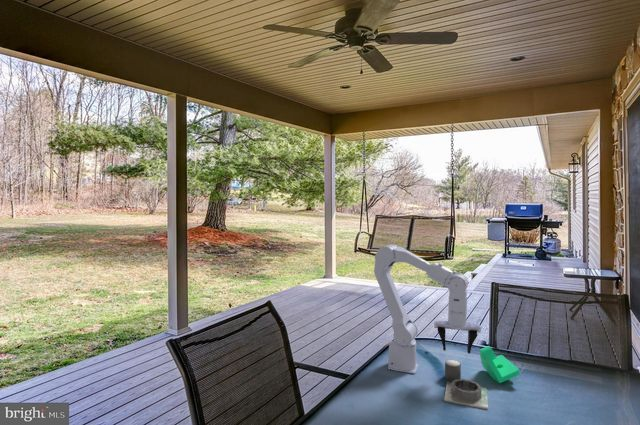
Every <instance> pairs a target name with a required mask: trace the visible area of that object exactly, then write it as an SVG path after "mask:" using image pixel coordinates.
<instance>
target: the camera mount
mask: <svg viewBox="0 0 640 425" xmlns="http://www.w3.org/2000/svg"><path fill="white" fill-rule="evenodd" d="M478 351H479V355H480V361H481V365H482V367H483V368H484V370H485V371H487V373H488V376H490V378H492V379H493V380H494V381H495V382H498V384H501V383H504V382H507V381H508V380H510V379H513V378H516V377H518V376H520V375H521V372H520V369H519V367H517V366H516V365H514V363H512V362H511V361H510V360H509V359H508V358H506V357H505V356H504V355H502V354H500V355H498V356H496V354H495V352H494V350H493V349H492V347H491V346H490V345H487V346H485V347H483V348H480V349H479V350H478Z"/></svg>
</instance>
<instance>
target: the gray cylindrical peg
mask: <svg viewBox="0 0 640 425" xmlns="http://www.w3.org/2000/svg"><path fill="white" fill-rule="evenodd" d="M461 366H462V365H461V363H460V362H459V361H457V360H454V359H448V360H445V362H444V379H445V380H446V381H447V382H452V381H454V380H456V379H462V378H461V376H462V375H461V373H462V370H461V369H462V368H461Z"/></svg>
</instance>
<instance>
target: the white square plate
mask: <svg viewBox="0 0 640 425" xmlns="http://www.w3.org/2000/svg"><path fill="white" fill-rule="evenodd" d="M488 400H489V399H488V388H487V387H482V386H481V385H480V383H478V382H475V381H474V380H471V379H466V378H461V379H456V380H454V381H446V384H445V393H444V398H443V401H444V402H447V403H451V404H457V405H462V406H467V407H472V408H477V409H478V408H479V409H481V410H482V409H483V410H489V401H488Z"/></svg>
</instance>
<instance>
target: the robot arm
mask: <svg viewBox="0 0 640 425" xmlns="http://www.w3.org/2000/svg"><path fill="white" fill-rule="evenodd" d="M397 263H406V264H409V265H410V266H412V267H415V268H416V269H419V270H421V271H423V272H425V273H426V275H427V277H428V278H429V279H431V280H433V281H434V282H436V283H437V284H440V285H441V286H444V287H447V289H448V293H449V295H448V309H447V310H448V311H447V315H448V317H447V320H434V322H433V323H434V327H433V328H434V329H437V333H438V335H439V337H440V341H441V343H442V350H443V352H444V351H445V352H446V351H447V350H446V330H458V331H467V354H471V350H472V347H473V344H474V342H475V341H476V339H477V337H478V333H479V334H480V333H481V331H482V330H481V329H482V326H481V325H480V324H475V323H469V322H467V312H468V308H467V307H468V306H467V305H468V298H467V296H468V294H467V293H468V292H467V291H468V290H467V288H468V285H469V280H468V278H467V276H466V275H465V274H463V273H462V272H457V271H456V270H451V269H449V268H448V267H445V266H444V263H442V262H439V263H438V262H434V263H430V262H429V261H426V260H425V259H424V258H421V257H420V256H418V255H416V254H414V253H413V252H411V251H409V250H408V249H406V248H404V247H402V246H398V244H395V243H390V244H387V245H385V246H381V247H380V248H378V249H377V251H376V253H375V254H374V270H373V273H374V275H375V276H374V277H375V278H376V281H377V283H378V285H379V286H378V287H379V289H380V291H381V293H382V296H383V299H384V301H385V303H386V306H387V309H388V312H389V315H390V316H391V318H392V330H393V339H394V340H391V341H389V346H388V367H387V369H388V370H390V369H391V371H397V372H402V373H409V374H413V375H415V374H417V370H418V367H419V363H417V341H416V338H415V337H416V336H417V335H418V332H419V330H418V329H419V328H418V326H417V325H416V324H415V323H414V322H413V320H412V317H411V316H410V315H409V314H407V312H406V309H405V308H404V304H403V302H402V300H401V297H400V294H399V292H398V290H397V288H396V285H395V282H394V279H393V277H392V275H391V273H390V272H391V270H392V268H393V266H394V264H397Z"/></svg>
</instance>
